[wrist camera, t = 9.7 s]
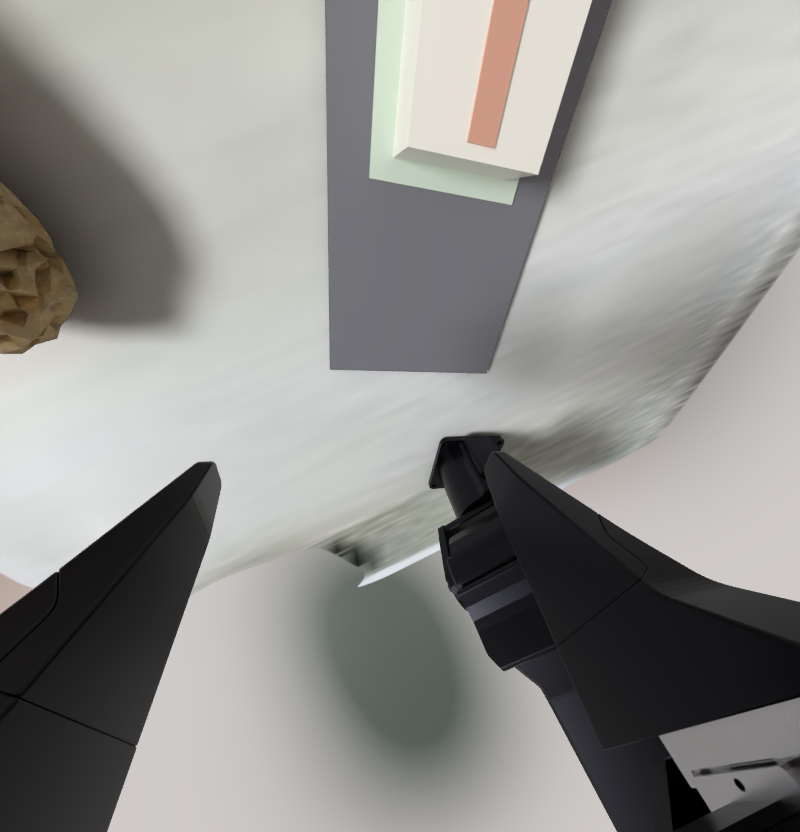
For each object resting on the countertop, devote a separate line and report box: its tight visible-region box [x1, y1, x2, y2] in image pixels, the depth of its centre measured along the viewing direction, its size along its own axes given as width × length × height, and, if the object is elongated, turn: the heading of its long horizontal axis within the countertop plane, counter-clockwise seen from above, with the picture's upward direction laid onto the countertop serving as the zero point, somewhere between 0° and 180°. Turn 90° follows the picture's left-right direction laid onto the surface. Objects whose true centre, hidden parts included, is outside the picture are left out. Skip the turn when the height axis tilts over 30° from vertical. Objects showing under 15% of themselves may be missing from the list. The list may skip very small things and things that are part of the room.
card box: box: [393, 0, 592, 180], centre depth 10 cm, size 6×9×3 cm, turn 173°
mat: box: [325, 0, 612, 373], centre depth 15 cm, size 22×12×1 cm, turn 172°
